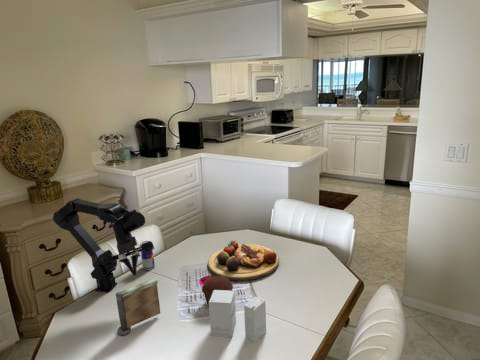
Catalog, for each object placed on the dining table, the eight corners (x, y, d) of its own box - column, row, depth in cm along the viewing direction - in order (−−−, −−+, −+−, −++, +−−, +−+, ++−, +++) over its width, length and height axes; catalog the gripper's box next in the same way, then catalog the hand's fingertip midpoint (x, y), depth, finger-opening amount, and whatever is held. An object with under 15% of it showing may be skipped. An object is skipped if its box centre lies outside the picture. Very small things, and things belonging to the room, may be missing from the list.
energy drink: (151, 270, 159) (148, 246, 156) (140, 270, 160) (137, 245, 157) (156, 264, 164) (153, 240, 161) (146, 264, 165) (142, 240, 162)
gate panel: (122, 330, 119) (116, 296, 115) (120, 328, 120) (114, 293, 117) (161, 313, 127) (157, 280, 123) (159, 311, 128) (155, 278, 125)
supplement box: (232, 337, 115) (230, 303, 112) (210, 336, 116) (207, 302, 113) (237, 322, 122) (235, 290, 119) (215, 321, 123) (213, 289, 120)
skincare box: (256, 327, 120) (254, 295, 116) (267, 332, 117) (266, 300, 113) (244, 337, 115) (242, 304, 112) (255, 343, 112) (254, 309, 109)
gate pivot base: (120, 338, 118) (119, 335, 117) (115, 331, 121) (115, 328, 121) (133, 332, 120) (132, 329, 120) (128, 325, 123) (128, 323, 123)
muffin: (220, 290, 142) (218, 267, 139) (240, 301, 134) (238, 277, 131) (196, 304, 134) (194, 280, 131) (216, 316, 126) (214, 291, 123)
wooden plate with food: (291, 256, 167) (290, 239, 165) (256, 289, 141) (255, 270, 139) (233, 243, 184) (232, 228, 182) (193, 271, 158) (192, 254, 156)
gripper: (93, 241, 125) (105, 285, 122) (145, 224, 130) (158, 265, 127) (99, 244, 136) (111, 285, 133) (148, 228, 140) (160, 267, 137)
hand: (135, 275), depth 132 cm, fingers closed
